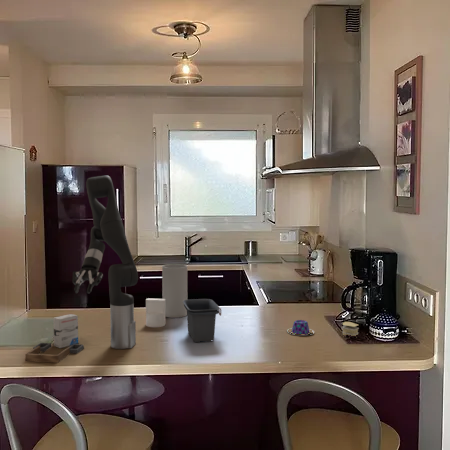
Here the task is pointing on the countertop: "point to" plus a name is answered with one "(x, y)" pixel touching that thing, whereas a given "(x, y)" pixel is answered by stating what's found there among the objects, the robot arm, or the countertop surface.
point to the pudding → (300, 327)
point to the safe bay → (45, 356)
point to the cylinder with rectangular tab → (155, 312)
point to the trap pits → (73, 348)
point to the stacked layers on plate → (350, 329)
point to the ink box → (65, 330)
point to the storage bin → (201, 318)
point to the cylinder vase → (174, 289)
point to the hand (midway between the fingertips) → (82, 292)
